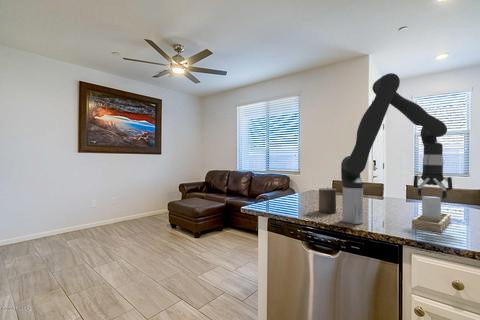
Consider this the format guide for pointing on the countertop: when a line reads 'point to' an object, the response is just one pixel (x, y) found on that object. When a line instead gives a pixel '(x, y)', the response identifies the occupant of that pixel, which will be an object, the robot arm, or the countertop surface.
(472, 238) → the countertop surface
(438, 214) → the skincare box
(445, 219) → the slotted rack
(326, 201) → the pillar candle
